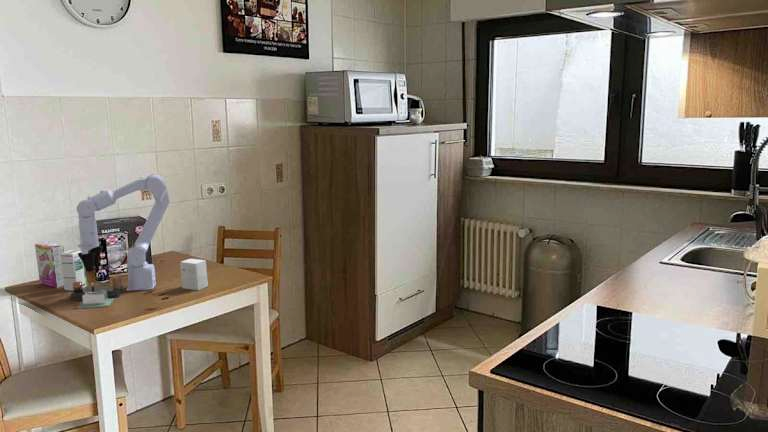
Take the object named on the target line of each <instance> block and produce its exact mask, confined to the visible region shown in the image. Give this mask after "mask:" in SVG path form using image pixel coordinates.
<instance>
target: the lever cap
mask: <svg viewBox="0 0 768 432" xmlns="http://www.w3.org/2000/svg"><path fill="white" fill-rule="evenodd" d="M82 297H83V300H82V302H83V306H85V305H98V304H105V303H106V302H107V301H108V299H109V298H108V296H107V291H106V290H98V291H97V292H86V293H85V295H83V296H82Z"/></svg>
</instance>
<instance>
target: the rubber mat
mask: <svg viewBox="0 0 768 432" xmlns="http://www.w3.org/2000/svg"><path fill="white" fill-rule="evenodd" d="M114 301H115V297H112V298H108V301H107V302H106V303H105V304H98V305H85V306H83V301H82V302H81V303H80V305H78V306H77V308H76V309H77V310H82V309H94V308H108V307H110V306H111V304H112V303H113V302H114Z"/></svg>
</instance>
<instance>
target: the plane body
mask: <svg viewBox="0 0 768 432" xmlns="http://www.w3.org/2000/svg"><path fill="white" fill-rule="evenodd" d="M111 279H112V285H102V286H95V284H94V282H90V286H87V287H84V288H83V287H82V282H81V281H78V282H73V291H72V292H71V293H70V299H71V301H79V300H80V301H83V297H82V296H83V295H85V293H86V292H97V291H98V290H106V291H107V296H108V299H112V298H120V296H121V295H122V294H123V293H124V285H123V284H122V282H123V281H122V274H121V273H119V274H114V275H113V276H112V278H111Z"/></svg>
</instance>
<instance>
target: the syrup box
mask: <svg viewBox="0 0 768 432" xmlns="http://www.w3.org/2000/svg"><path fill="white" fill-rule="evenodd" d="M78 253H82V252H81V249H80V250H79V249H70V250H68V251H64V253H61V254H60V260H61V267H62V274H63V282H64V286H63V287H64V290H65V291H72V292H73V282H78V281H81V282H82V287H83V288H84V287H88V279H87V274H86V273H87V272H86V270H85V267H84V264H83V262H82V260H81V259H80V258H79V256H78Z"/></svg>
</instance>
